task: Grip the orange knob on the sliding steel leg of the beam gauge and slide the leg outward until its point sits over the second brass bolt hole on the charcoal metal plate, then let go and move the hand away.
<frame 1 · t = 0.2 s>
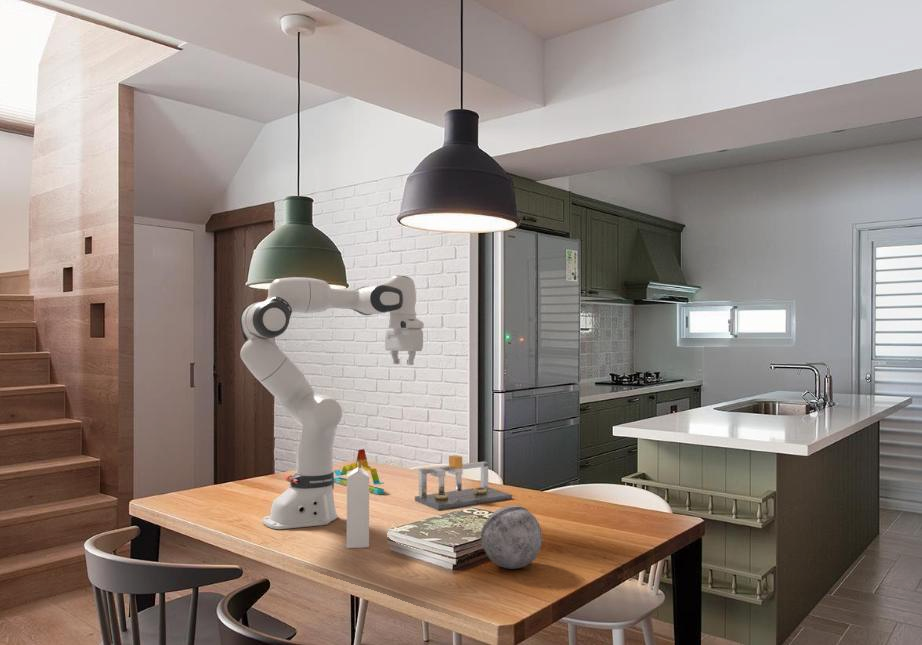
hand: (403, 364, 234), 48 cm above the table, tool pointing down, fingers open, 8 cm apart
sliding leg: (456, 472, 242), point 9 cm above the table, slide at -2.0 cm
decorative orb: (512, 568, 169), on the table
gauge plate: (463, 499, 241), on the table
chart: (357, 488, 262), on the table
milk: (357, 545, 188), on the table
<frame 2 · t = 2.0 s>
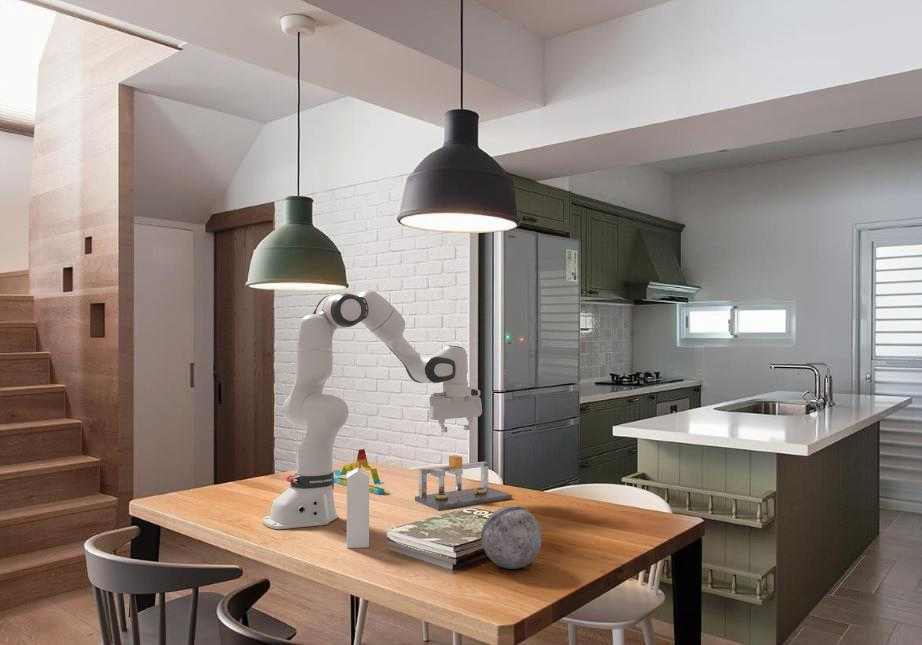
hand: (455, 431, 242), 24 cm above the table, tool pointing down, fingers open, 8 cm apart
nothing on the table moved.
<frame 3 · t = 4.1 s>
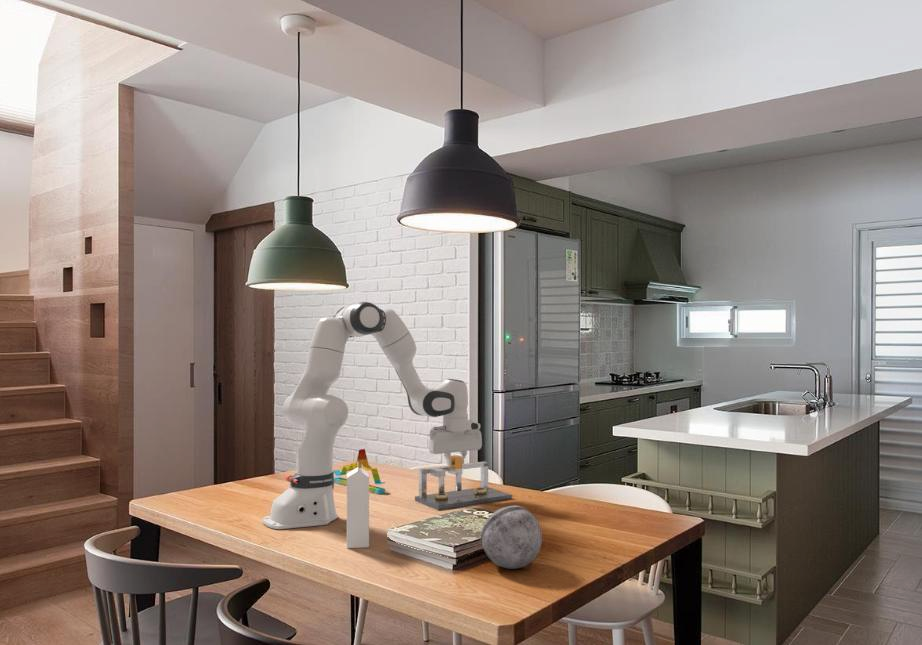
hand: (455, 464, 242), 12 cm above the table, tool pointing down, fingers closed on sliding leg, 3 cm apart
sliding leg: (455, 472, 242), point 9 cm above the table, slide at -2.0 cm, touching gripper
everything else where it was.
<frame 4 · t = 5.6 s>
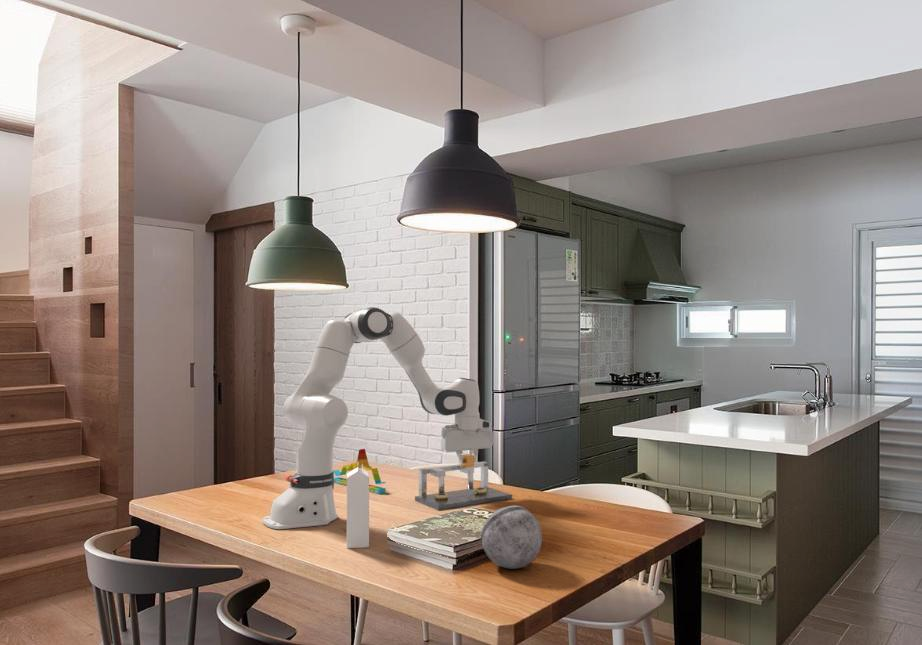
hand: (467, 462, 245), 12 cm above the table, tool pointing down, fingers closed on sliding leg, 3 cm apart
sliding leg: (467, 471, 244), point 9 cm above the table, slide at 2.9 cm, touching gripper
everything else where it was.
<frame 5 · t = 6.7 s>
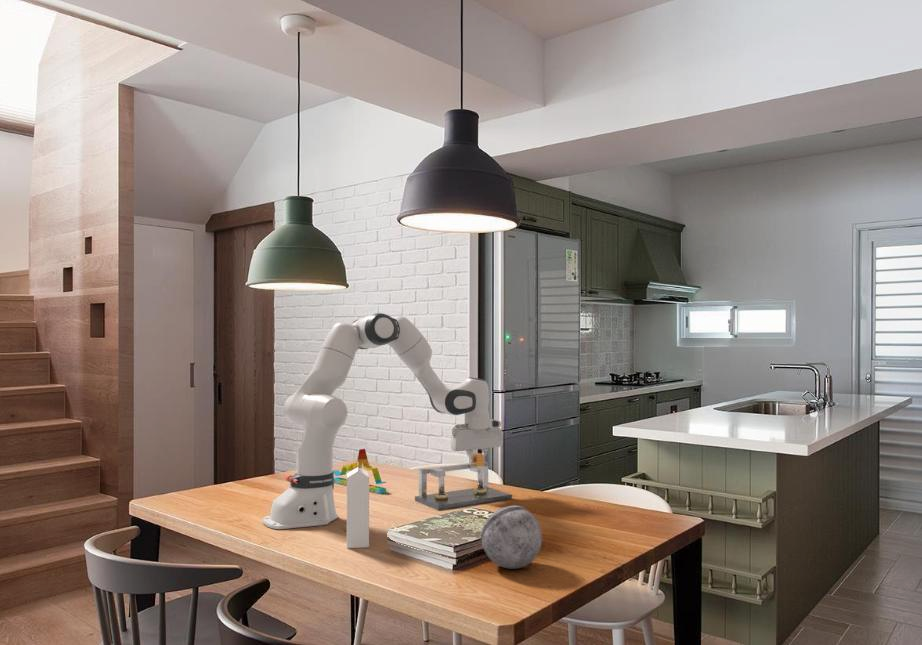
hand: (477, 461, 247), 12 cm above the table, tool pointing down, fingers closed on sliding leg, 3 cm apart
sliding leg: (477, 470, 247), point 9 cm above the table, slide at 7.1 cm, touching gripper
everything else where it was.
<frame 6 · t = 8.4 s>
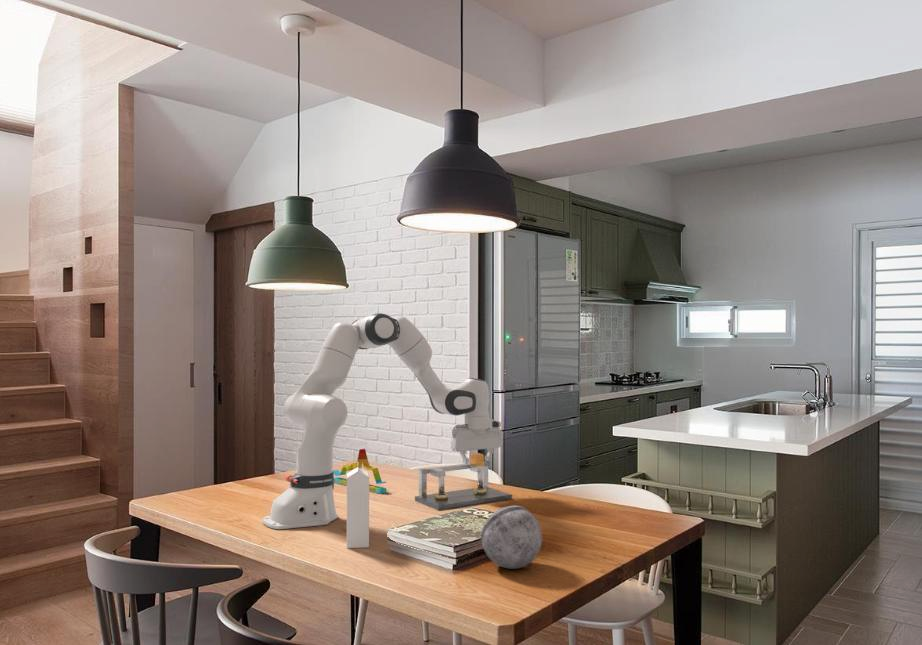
hand: (477, 462, 247), 12 cm above the table, tool pointing down, fingers open, 8 cm apart
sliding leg: (477, 470, 247), point 9 cm above the table, slide at 7.1 cm
everything else where it was.
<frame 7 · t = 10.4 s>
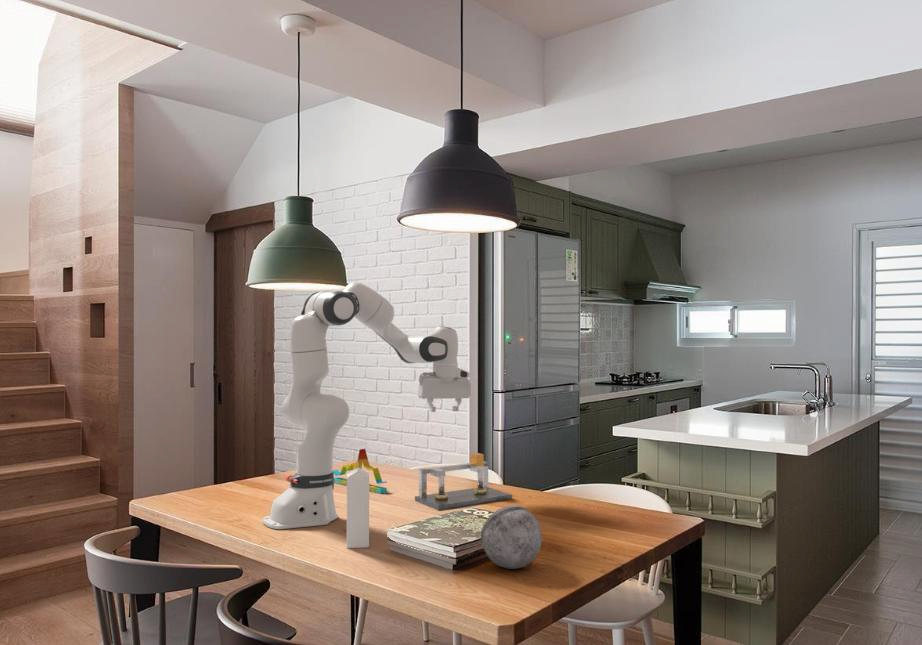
hand: (444, 411, 246), 30 cm above the table, tool pointing down, fingers open, 8 cm apart
nothing on the table moved.
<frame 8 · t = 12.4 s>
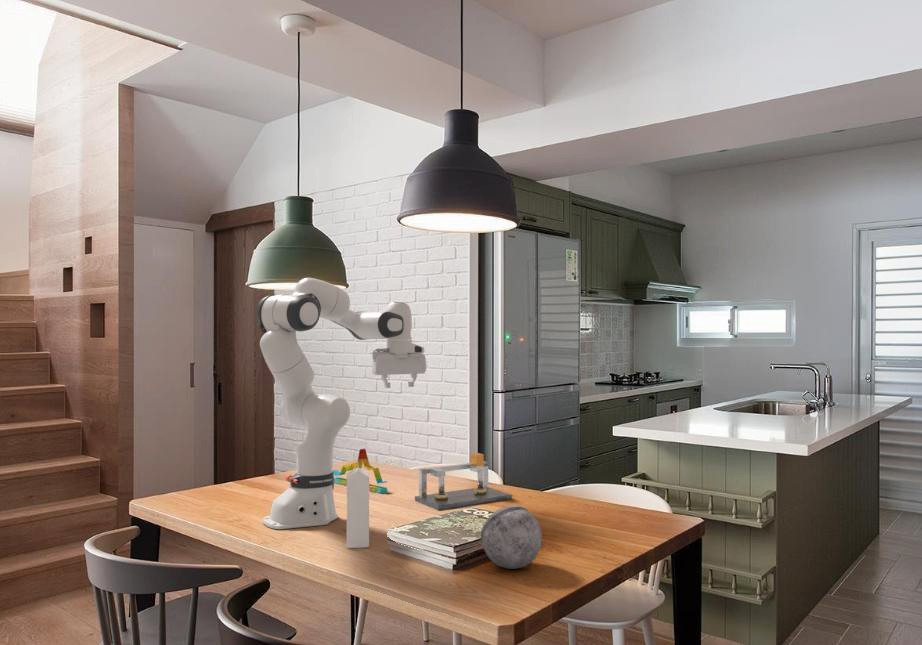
hand: (399, 387, 244), 39 cm above the table, tool pointing down, fingers open, 8 cm apart
at the end: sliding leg slide at 7.1 cm; the gripper is holding nothing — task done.
